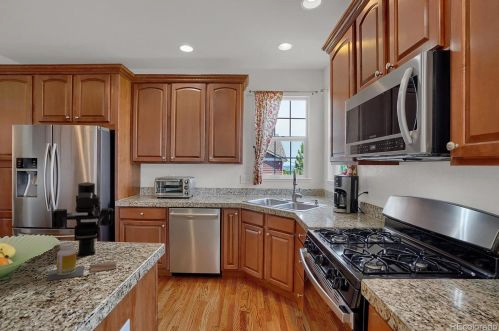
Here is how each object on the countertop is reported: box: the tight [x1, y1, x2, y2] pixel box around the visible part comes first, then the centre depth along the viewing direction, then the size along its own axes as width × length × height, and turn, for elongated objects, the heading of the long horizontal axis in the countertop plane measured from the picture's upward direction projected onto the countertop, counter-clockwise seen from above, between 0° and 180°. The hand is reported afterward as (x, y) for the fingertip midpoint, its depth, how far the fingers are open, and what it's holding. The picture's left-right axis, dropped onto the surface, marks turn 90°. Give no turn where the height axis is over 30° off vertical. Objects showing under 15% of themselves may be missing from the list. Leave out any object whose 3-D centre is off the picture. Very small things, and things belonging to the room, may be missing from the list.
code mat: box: [45, 265, 85, 282], centre depth 91 cm, size 10×10×1 cm
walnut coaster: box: [89, 261, 117, 273], centre depth 98 cm, size 8×8×1 cm
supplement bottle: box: [56, 241, 77, 275], centre depth 92 cm, size 5×5×10 cm
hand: (82, 225), depth 91 cm, fingers open, 9 cm apart
